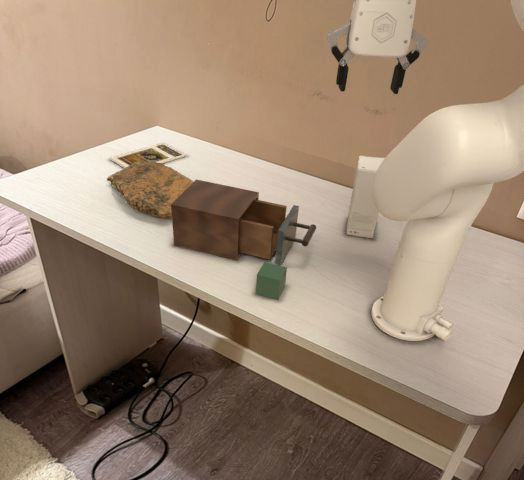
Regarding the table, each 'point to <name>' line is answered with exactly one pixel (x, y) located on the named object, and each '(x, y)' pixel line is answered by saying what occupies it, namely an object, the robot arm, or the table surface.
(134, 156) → the trading card
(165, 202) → the rock
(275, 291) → the block
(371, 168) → the white tower device
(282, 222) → the drawer
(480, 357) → the table surface
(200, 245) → the cabinet
